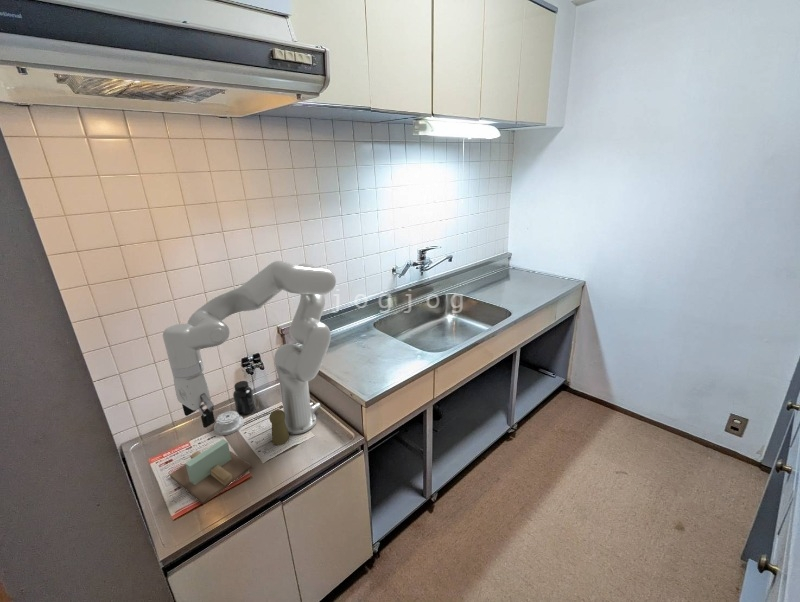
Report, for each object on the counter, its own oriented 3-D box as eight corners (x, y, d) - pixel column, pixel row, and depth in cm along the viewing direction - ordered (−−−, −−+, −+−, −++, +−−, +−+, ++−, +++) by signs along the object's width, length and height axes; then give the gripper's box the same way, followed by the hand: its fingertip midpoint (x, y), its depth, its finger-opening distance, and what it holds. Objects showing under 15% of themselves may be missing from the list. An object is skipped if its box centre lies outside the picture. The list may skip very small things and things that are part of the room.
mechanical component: (208, 433, 132) (233, 437, 130) (205, 423, 130) (231, 427, 129) (225, 416, 141) (249, 419, 139) (223, 406, 140) (247, 409, 138)
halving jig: (219, 445, 126) (217, 438, 125) (252, 467, 117) (250, 460, 116) (170, 476, 113) (168, 469, 112) (203, 504, 104) (201, 496, 103)
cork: (270, 435, 130) (266, 409, 127) (288, 431, 133) (285, 405, 129) (272, 447, 125) (267, 420, 121) (290, 442, 127) (286, 415, 123)
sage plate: (226, 456, 120) (223, 438, 118) (231, 459, 119) (227, 441, 116) (190, 481, 111) (185, 463, 108) (194, 485, 109) (189, 466, 107)
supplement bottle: (251, 402, 148) (246, 377, 144) (258, 410, 144) (254, 384, 140) (233, 410, 144) (228, 383, 140) (240, 418, 139) (235, 391, 135)
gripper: (157, 365, 104) (171, 415, 110) (191, 383, 95) (204, 437, 101) (184, 354, 110) (196, 402, 116) (218, 370, 101) (229, 422, 107)
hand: (199, 418), depth 108 cm, fingers open, 9 cm apart
